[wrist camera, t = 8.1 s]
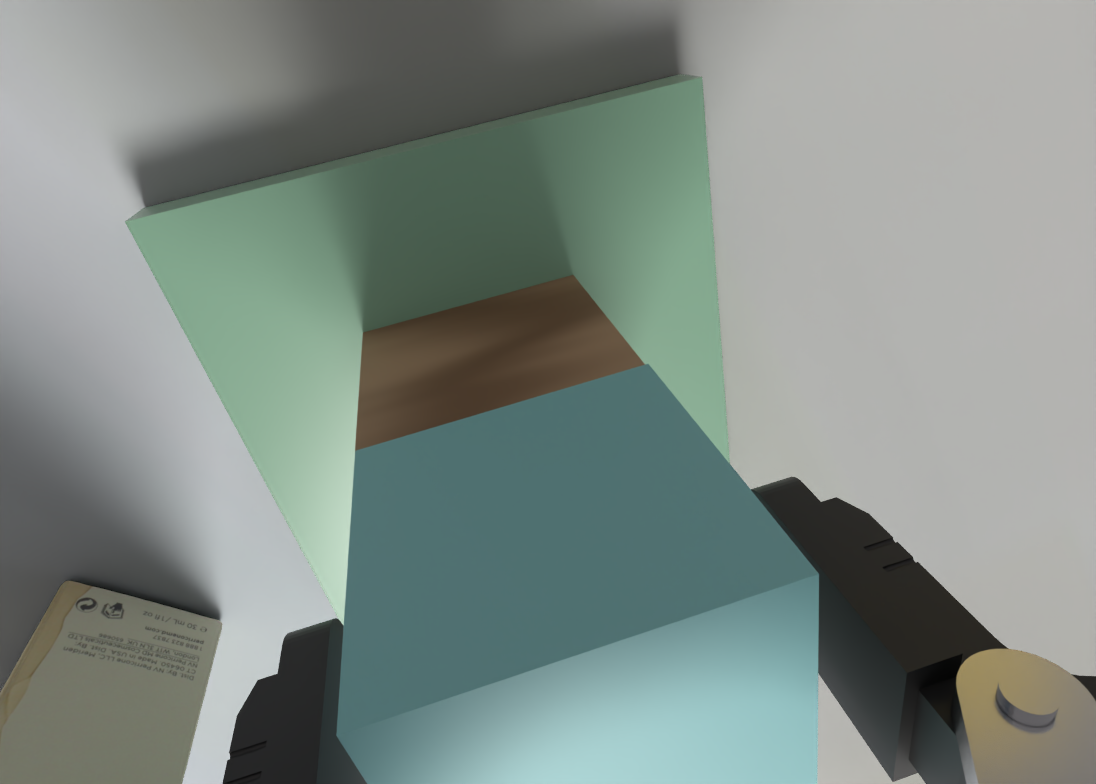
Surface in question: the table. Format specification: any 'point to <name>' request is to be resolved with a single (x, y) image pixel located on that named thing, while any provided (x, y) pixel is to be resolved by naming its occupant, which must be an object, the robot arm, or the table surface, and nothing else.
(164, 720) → the skincare box
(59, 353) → the table surface
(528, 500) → the teal brick
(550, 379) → the walnut brick
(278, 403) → the plate
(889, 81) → the table surface
